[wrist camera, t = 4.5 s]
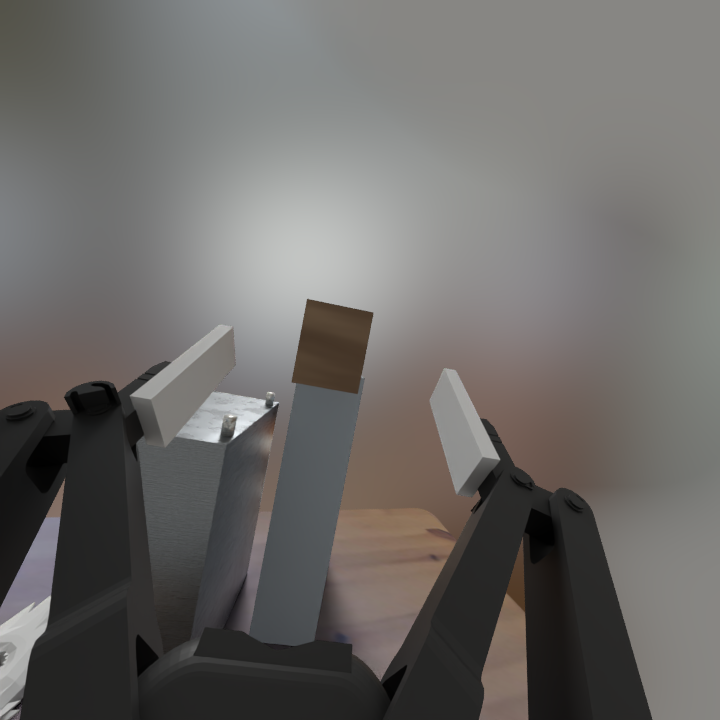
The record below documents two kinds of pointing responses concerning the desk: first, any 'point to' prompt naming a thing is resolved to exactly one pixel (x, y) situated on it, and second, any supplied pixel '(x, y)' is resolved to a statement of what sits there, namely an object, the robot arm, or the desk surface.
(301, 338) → the rail
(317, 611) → the stand
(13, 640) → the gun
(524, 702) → the desk surface
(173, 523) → the plate
